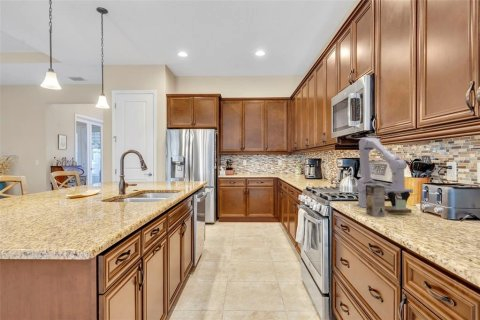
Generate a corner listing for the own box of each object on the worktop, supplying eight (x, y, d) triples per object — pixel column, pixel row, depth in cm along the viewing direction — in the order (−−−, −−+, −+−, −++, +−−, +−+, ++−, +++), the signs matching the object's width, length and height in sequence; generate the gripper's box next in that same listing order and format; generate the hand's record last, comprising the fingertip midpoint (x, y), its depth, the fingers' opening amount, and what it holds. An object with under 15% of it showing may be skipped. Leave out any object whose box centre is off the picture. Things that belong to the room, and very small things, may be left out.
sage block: (391, 207, 146) (391, 198, 146) (400, 207, 146) (400, 198, 146) (396, 209, 141) (396, 200, 141) (405, 209, 141) (405, 200, 141)
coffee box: (365, 213, 148) (365, 184, 148) (376, 212, 148) (376, 184, 148) (373, 216, 139) (372, 186, 139) (385, 216, 139) (385, 186, 139)
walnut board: (379, 208, 160) (379, 206, 160) (399, 208, 159) (399, 205, 159) (389, 212, 148) (389, 209, 148) (411, 212, 147) (411, 209, 147)
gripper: (388, 182, 140) (388, 207, 140) (416, 181, 139) (416, 207, 139) (381, 181, 147) (382, 205, 147) (408, 180, 146) (409, 204, 146)
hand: (398, 205), depth 143 cm, fingers closed on sage block, 5 cm apart
